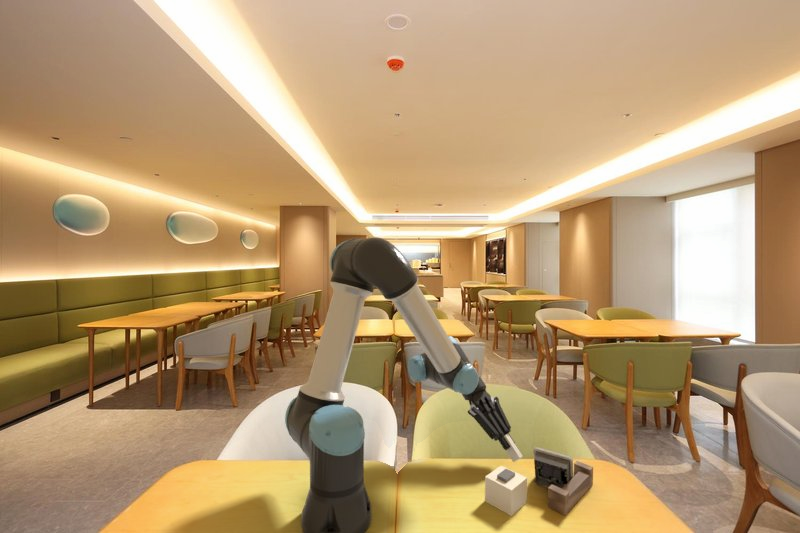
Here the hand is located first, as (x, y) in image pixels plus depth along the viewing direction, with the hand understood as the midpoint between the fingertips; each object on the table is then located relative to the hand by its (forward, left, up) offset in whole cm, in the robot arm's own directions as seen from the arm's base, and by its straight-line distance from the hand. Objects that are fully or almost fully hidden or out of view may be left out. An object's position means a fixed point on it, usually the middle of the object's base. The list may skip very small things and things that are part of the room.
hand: (518, 459), depth 100 cm
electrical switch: (+10, 0, -4) cm, 10 cm away
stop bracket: (+15, 0, -3) cm, 15 cm away
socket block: (+4, -14, -4) cm, 15 cm away
